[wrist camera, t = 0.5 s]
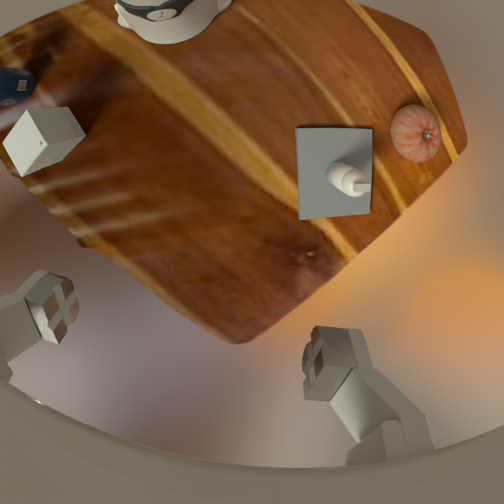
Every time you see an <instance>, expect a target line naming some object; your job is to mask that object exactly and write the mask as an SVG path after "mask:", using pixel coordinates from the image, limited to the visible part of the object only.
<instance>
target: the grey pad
mask: <svg viewBox="0 0 504 504" xmlns="http://www.w3.org/2000/svg"><path fill="white" fill-rule="evenodd" d="M295 133H296V152H297V177H298V214H299V219H300V220H304V219H314V218H325V217H335V216H347V215H358V214H370V200H371V182H372V129H358V128H295ZM335 161H340V162H343V163H345V164H348V165H350V166H352V167H354V168H357V169H359V170H361V171H362V172H364V173H365V175H366V176H367V178H368V183H370V192H365V193H364V194H363V195H361V196H359V197H351V196H348V195H347V194H345V193H344V192H342V191H341V190H339V189H338V188H336V187H335V186H333V185H332V184H330V183H329V182H328V180H327V178H326V170H327V167H328V166H329V165H330V164H331V163H333V162H335Z"/></svg>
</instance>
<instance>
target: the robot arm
mask: <svg viewBox="0 0 504 504" xmlns="http://www.w3.org/2000/svg"><path fill="white" fill-rule="evenodd" d="M116 2H117V4H116V5H115V9H116V10H117V12H118V13H119V17H118V23H119V24H120V25H121V26H123V27H125V28H129V29H132V30H134V31H135V32H136V33H137V34H138V35H139V36H140V37H142V38H143V39H145V40H147V41H149V42H153V43H158V44H172V43H178V42H182V41H185V40H187V39H190V38H192V37H194V36H196V35H197V34H199V33H200V32H202V31H203V30H204V29H205V28H206V27H207V26H208V25H209V24H210V23H211V22H212V20H213V19H214V17H215V16H216V15H217V14H218V13H219V12H221V11H223V10H224V9H226V8H227V7H229V6H230V5H231V3H232V1H231V0H116ZM73 290H74V285H73V282H72V280H70V279H68V278H66V277H62V276H59V275H56V274H53V273H50V272H46V271H43V270H37V271H36V272H35V273H34V274H33V275H32V276H31V277H30V278H29V279H28V280H27V281H26V282H25V283H24V284H23V285H22V286H21V287H20V288H19V289H18V290H17V291H16V292H15V293H14V294H9V295H6V296H4V297H2V298H0V504H504V426H500V427H498V428H496V429H493V430H491V431H489V432H486V433H484V434H481V435H479V436H476V437H474V438H471V439H468V440H465V441H462V442H459V443H456V444H453V445H450V446H447V447H443V448H440V449H437V450H434V448H433V444H432V440H431V436H430V433H429V429H428V425H427V422H426V418H425V415H424V414H423V413H422V412H421V411H420V410H419V409H418V408H417V407H416V406H415V405H414V404H413V403H412V402H411V401H410V400H409V399H408V398H407V397H406V396H405V395H404V394H403V393H402V392H401V391H400V390H398V388H397V387H395V386H394V385H393V384H392V383H391V382H390V381H389V380H388V379H387V378H386V377H385V376H384V375H383V374H382V373H381V372H380V371H379V370H378V369H373V365H372V362H371V359H370V355H369V352H368V348H367V345H366V342H365V339H364V335H363V332H362V331H361V330H360V329H349V328H336V327H325V326H315V327H314V328H313V330H312V332H311V341H310V342H308V343H307V344H306V346H305V349H304V352H303V358H302V371H303V373H304V374H305V375H306V378H305V380H304V382H303V389H304V399H305V400H316V401H330V404H331V405H332V407H333V409H334V410H335V411H336V413H337V414H338V416H339V417H340V419H341V420H342V421H343V423H344V424H345V426H346V427H347V428H348V430H349V431H350V433H351V434H352V435H353V437H354V439H355V440H356V441H357V443H358V444H357V445H356V446H354V447H353V448H352V449H351V450H349V451H348V452H347V453H346V454H345V455H344V459H345V466H339V467H319V468H279V467H262V466H250V465H240V464H231V463H224V462H217V461H210V460H204V459H199V458H194V457H189V456H184V455H180V454H175V453H171V452H167V451H163V450H159V449H156V448H152V447H148V446H145V445H142V444H139V443H135V442H132V441H129V440H126V439H123V438H120V437H117V436H114V435H112V434H109V433H107V432H104V431H101V430H99V429H96V428H94V427H91V426H89V425H87V424H84V423H82V422H80V421H77V420H75V419H73V418H71V417H69V416H66V415H64V414H63V413H60V412H59V411H57V410H55V409H53V408H51V407H49V406H47V405H45V404H44V403H42V402H40V401H38V400H36V399H35V398H33V397H31V396H29V395H28V394H26V393H24V392H23V391H21V390H19V389H18V388H16V387H15V386H13V385H12V384H10V383H9V380H10V378H11V377H12V375H13V372H12V370H11V369H10V367H9V366H8V364H7V363H8V362H9V361H11V360H12V359H14V358H15V357H17V356H18V355H19V354H21V353H22V352H24V351H25V350H27V349H28V348H30V347H31V346H33V345H34V344H36V343H37V342H39V341H40V340H41V339H42V338H43V339H45V340H48V341H50V342H53V343H56V344H59V343H60V342H61V341H62V339H63V338H64V336H65V334H66V333H67V326H69V325H71V324H73V323H74V321H75V320H76V318H77V315H78V312H79V303H78V299H77V297H76V296H75V295H74V294H73Z"/></svg>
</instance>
